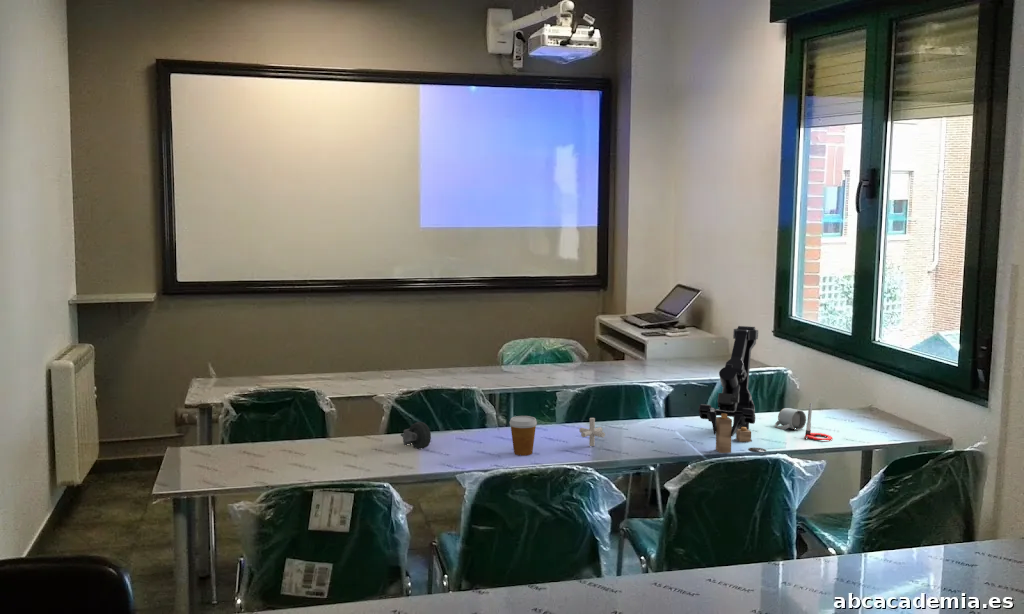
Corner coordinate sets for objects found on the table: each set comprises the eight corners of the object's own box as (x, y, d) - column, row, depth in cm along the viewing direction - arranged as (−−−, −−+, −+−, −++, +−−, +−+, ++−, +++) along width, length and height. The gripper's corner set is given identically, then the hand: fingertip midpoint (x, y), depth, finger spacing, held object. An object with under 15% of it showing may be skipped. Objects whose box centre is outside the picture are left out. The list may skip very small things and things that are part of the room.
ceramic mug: (790, 424, 341) (791, 404, 340) (806, 429, 334) (806, 409, 333) (769, 428, 336) (770, 408, 335) (785, 432, 329) (785, 412, 328)
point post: (715, 451, 304) (716, 412, 302) (726, 450, 304) (727, 412, 302) (719, 454, 300) (720, 415, 298) (730, 454, 300) (731, 415, 298)
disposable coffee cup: (505, 451, 304) (504, 417, 303) (530, 448, 308) (530, 414, 307) (516, 458, 296) (516, 423, 294) (541, 455, 299) (541, 420, 298)
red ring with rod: (833, 438, 323) (806, 434, 326) (836, 403, 321) (809, 400, 325) (831, 443, 315) (803, 439, 319) (834, 408, 313) (807, 405, 317)
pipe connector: (571, 446, 310) (572, 418, 309) (589, 441, 317) (589, 413, 316) (594, 451, 303) (594, 423, 302) (611, 446, 310) (612, 418, 309)
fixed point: (736, 438, 318) (736, 426, 317) (746, 438, 318) (747, 426, 317) (740, 441, 314) (740, 429, 313) (751, 441, 314) (751, 428, 313)
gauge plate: (724, 439, 319) (724, 437, 319) (754, 438, 320) (754, 436, 320) (745, 455, 298) (745, 453, 298) (777, 454, 300) (777, 452, 300)
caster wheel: (433, 451, 308) (407, 439, 318) (434, 425, 306) (409, 413, 317) (420, 454, 304) (394, 442, 315) (421, 427, 302) (396, 416, 313)
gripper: (700, 381, 306) (692, 419, 298) (755, 385, 299) (748, 425, 290) (704, 398, 314) (696, 436, 306) (758, 403, 307) (752, 442, 298)
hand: (723, 434), depth 300 cm, fingers closed on point post, 5 cm apart
